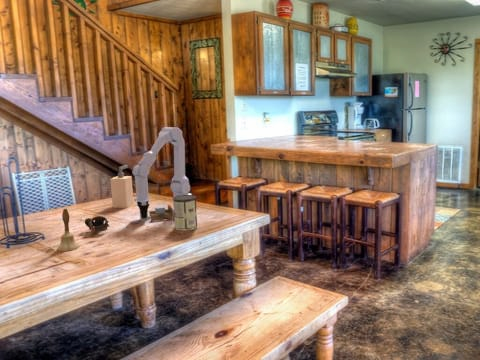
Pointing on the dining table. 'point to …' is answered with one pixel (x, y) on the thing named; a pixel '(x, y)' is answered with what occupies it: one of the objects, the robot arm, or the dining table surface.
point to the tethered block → (157, 210)
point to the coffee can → (185, 212)
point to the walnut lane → (163, 216)
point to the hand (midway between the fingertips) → (144, 216)
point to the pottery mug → (97, 224)
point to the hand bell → (67, 235)
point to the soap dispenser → (122, 190)
